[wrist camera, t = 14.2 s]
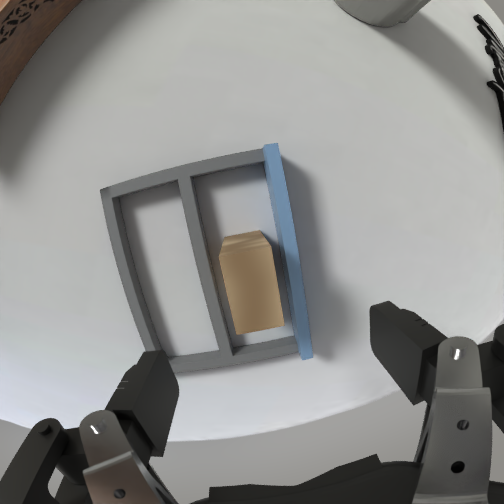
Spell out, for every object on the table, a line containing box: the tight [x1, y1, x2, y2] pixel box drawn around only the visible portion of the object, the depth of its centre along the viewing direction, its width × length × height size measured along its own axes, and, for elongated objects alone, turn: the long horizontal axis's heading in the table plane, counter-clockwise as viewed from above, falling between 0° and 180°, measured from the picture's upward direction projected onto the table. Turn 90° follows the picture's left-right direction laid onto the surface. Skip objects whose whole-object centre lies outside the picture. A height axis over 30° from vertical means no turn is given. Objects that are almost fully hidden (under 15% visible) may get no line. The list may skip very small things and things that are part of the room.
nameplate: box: [473, 14, 504, 130], centre depth 21 cm, size 28×2×10 cm
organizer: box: [100, 143, 313, 373], centre depth 22 cm, size 15×18×3 cm
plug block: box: [219, 230, 285, 335], centre depth 20 cm, size 3×5×8 cm, turn 11°
